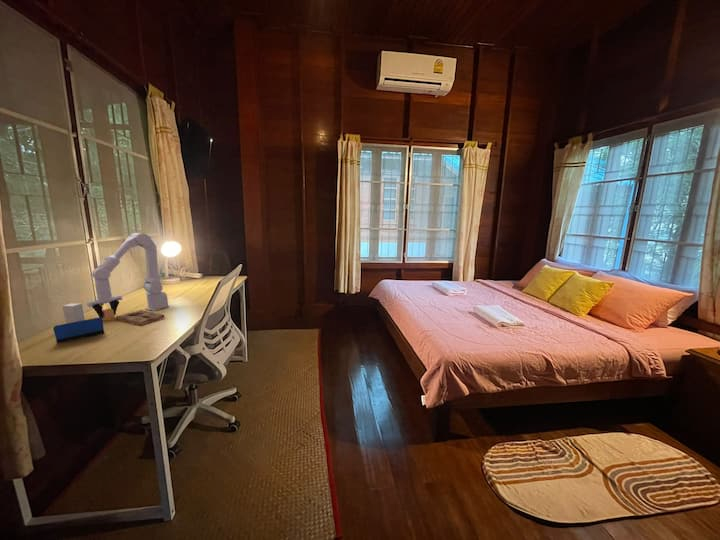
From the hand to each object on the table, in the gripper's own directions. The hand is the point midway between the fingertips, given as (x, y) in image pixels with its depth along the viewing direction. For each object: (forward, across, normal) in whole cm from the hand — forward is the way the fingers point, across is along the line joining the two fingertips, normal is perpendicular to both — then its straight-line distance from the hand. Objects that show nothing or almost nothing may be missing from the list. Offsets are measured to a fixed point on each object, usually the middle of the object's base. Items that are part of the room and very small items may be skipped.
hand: (107, 316), depth 159 cm
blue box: (+2, +18, +16) cm, 24 cm away
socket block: (+1, -7, +16) cm, 18 cm away
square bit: (+2, 0, 0) cm, 2 cm away
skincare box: (+2, +14, +2) cm, 14 cm away
